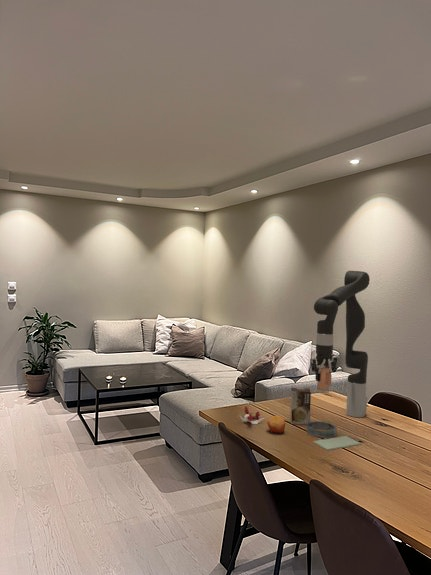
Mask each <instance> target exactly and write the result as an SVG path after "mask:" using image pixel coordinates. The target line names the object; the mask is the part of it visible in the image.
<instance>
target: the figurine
mask: <svg viewBox="0 0 431 575" xmlns="http://www.w3.org/2000/svg"><path fill="white" fill-rule="evenodd" d="M244 414H245V415H244V417H243V416H242V415H241V414H239V418H240V419H241V421H242V422H245V423H247V422H249V423H251V424H252V425H258V424H259V423H260V422H261V421H262V420H264V417H263V416H261V417H260V415H261V413H260V411H258V410H257V411H256V413H255V415H254V416H253V415H252V414H254V412H252V413H250V412H249V405H246V406H244Z"/></svg>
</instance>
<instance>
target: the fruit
mask: <svg viewBox="0 0 431 575" xmlns="http://www.w3.org/2000/svg"><path fill="white" fill-rule="evenodd" d="M266 423H267V426H268V429H269V431H270V432H271V433H275V434H282V433H283V432H284V431H285V429H286V421H285V419H284V418H283V416H281V415H272V416H270V417H269V418H268V420H267V422H266Z"/></svg>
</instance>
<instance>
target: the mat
mask: <svg viewBox="0 0 431 575" xmlns="http://www.w3.org/2000/svg"><path fill="white" fill-rule="evenodd" d="M312 442H313V444H315V445H317V446H318V447H320V448H322V449H323V450H325V451H331V450H337V449H344V448H350V447H355V446H360V445H362V443H361V442H359V441H357V440H355V439H353V438H351V437H349V436H347V435H344V436H337V437H336V436H335V437H332V438H323V439H317V440H313V441H312Z"/></svg>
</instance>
